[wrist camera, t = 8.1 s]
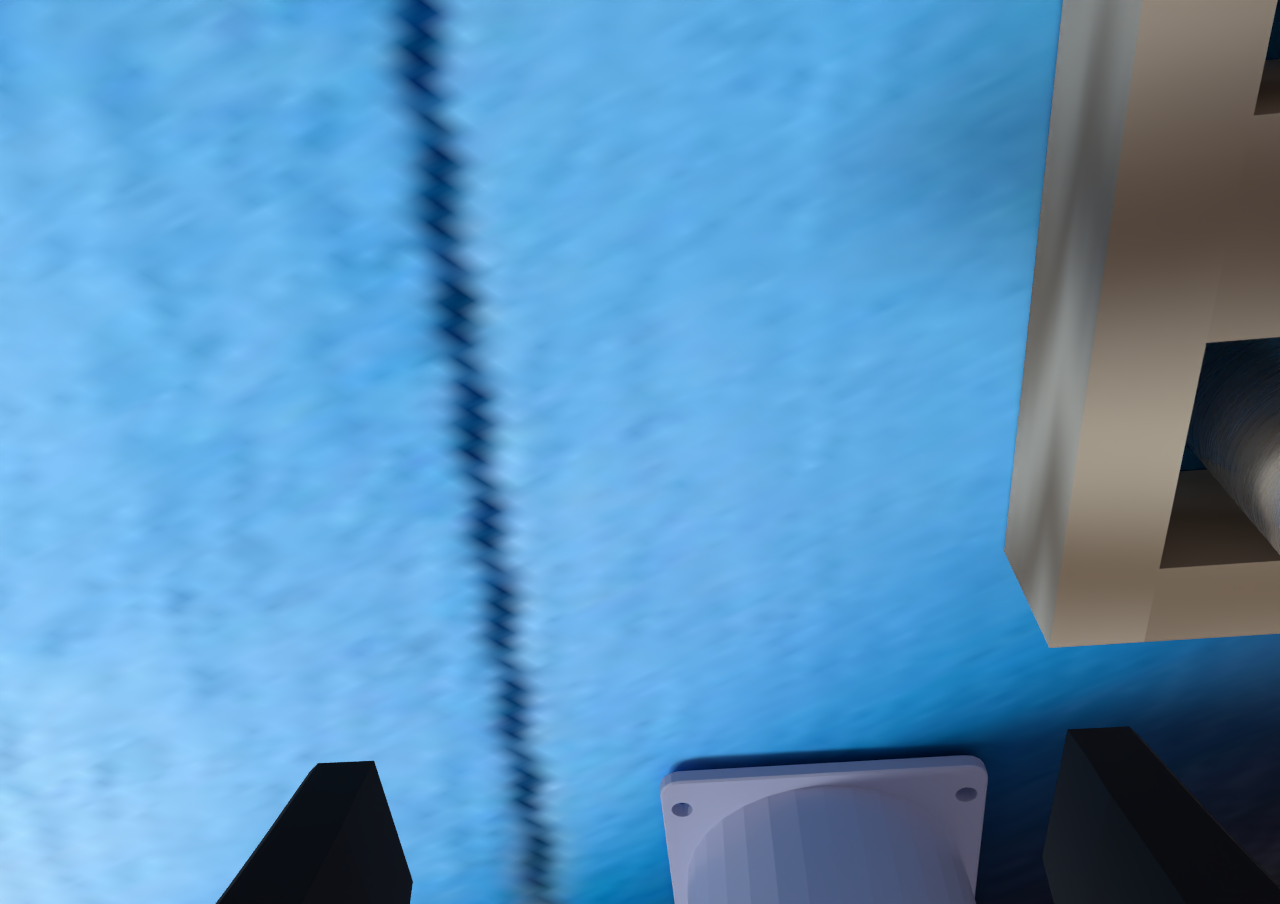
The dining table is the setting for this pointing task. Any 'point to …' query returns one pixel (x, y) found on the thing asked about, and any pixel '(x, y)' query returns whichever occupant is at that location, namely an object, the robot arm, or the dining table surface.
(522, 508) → the dining table surface
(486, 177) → the dining table surface
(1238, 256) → the hole block
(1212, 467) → the grey peg
